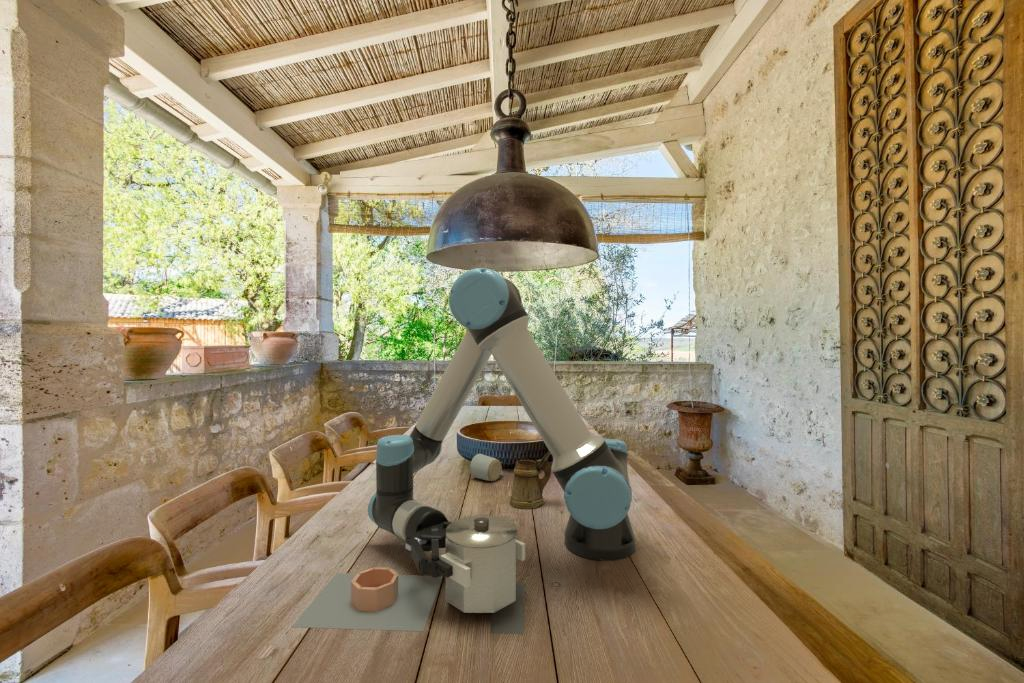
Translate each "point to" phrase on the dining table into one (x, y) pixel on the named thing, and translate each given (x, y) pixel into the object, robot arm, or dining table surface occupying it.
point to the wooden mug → (529, 483)
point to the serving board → (401, 616)
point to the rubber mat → (511, 615)
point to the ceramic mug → (485, 468)
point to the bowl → (374, 589)
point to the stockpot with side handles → (483, 562)
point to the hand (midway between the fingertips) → (497, 564)
